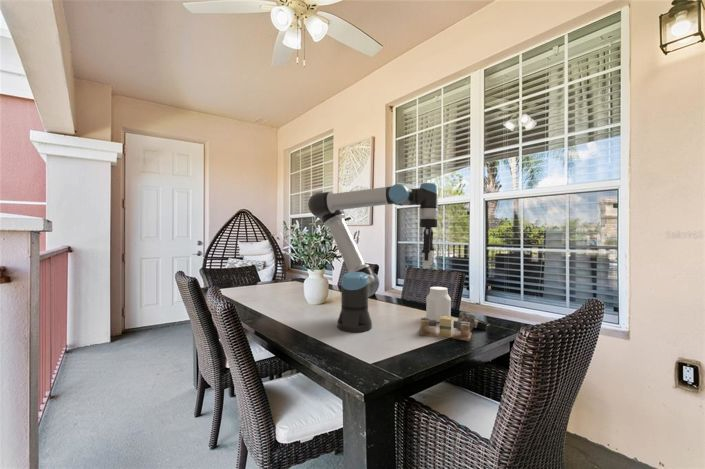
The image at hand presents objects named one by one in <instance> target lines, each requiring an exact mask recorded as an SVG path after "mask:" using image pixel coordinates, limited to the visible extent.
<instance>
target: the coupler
mask: <svg viewBox="0 0 705 469" xmlns="http://www.w3.org/2000/svg"><path fill="white" fill-rule="evenodd" d="M438 325H439V336H440V337H451V338H452V316H451V317H448V316H440V322H439V324H438Z"/></svg>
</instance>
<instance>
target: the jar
mask: <svg viewBox="0 0 705 469" xmlns="http://www.w3.org/2000/svg"><path fill="white" fill-rule="evenodd" d="M448 292H449V291H448V288H447V287H445V286H444V287H443V286H431V287H429V293H428V294H427V295H426V298H425V299H426V300H425V301H426V302H425V303H426V305H425V306H426V310H425V314H426V315H425V318H429V319H436V323H440V316H448V317H451V318H452V315H451V314H452V313H451V312H452V310H451V308H452V304H451V303H452V298H451V297H450V295H449V293H448Z"/></svg>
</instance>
